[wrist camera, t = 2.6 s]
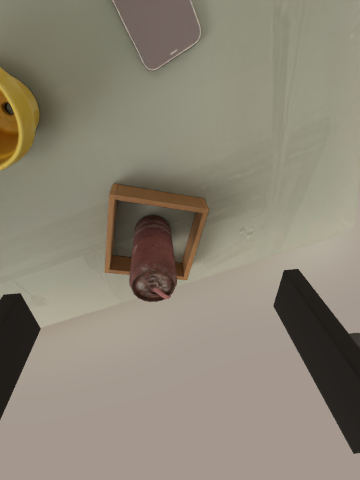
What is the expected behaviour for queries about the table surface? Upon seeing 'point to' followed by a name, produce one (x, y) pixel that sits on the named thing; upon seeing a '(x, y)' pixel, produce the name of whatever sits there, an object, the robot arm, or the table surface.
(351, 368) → the robot arm
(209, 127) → the table surface
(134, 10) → the smartphone
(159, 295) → the can
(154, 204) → the wooden square frame
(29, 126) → the flower pot
